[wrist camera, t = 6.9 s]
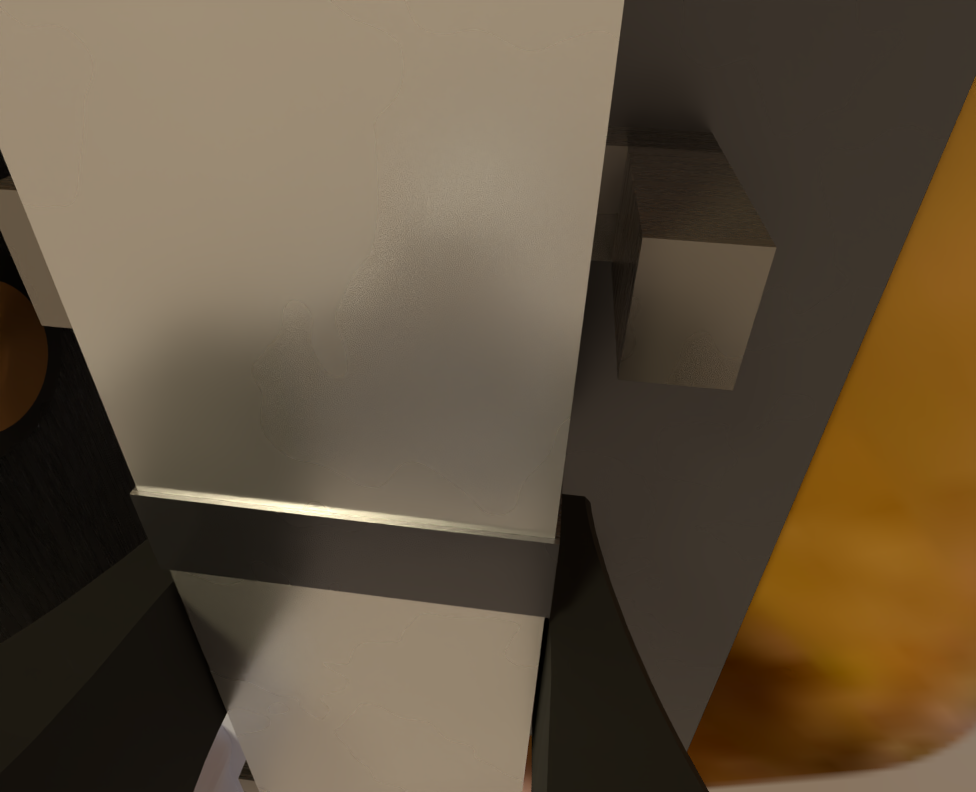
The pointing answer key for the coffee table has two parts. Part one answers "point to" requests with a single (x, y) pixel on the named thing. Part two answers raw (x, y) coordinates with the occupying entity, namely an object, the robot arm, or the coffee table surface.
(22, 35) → the cream rectangular block
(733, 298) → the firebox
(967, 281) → the coffee table surface
